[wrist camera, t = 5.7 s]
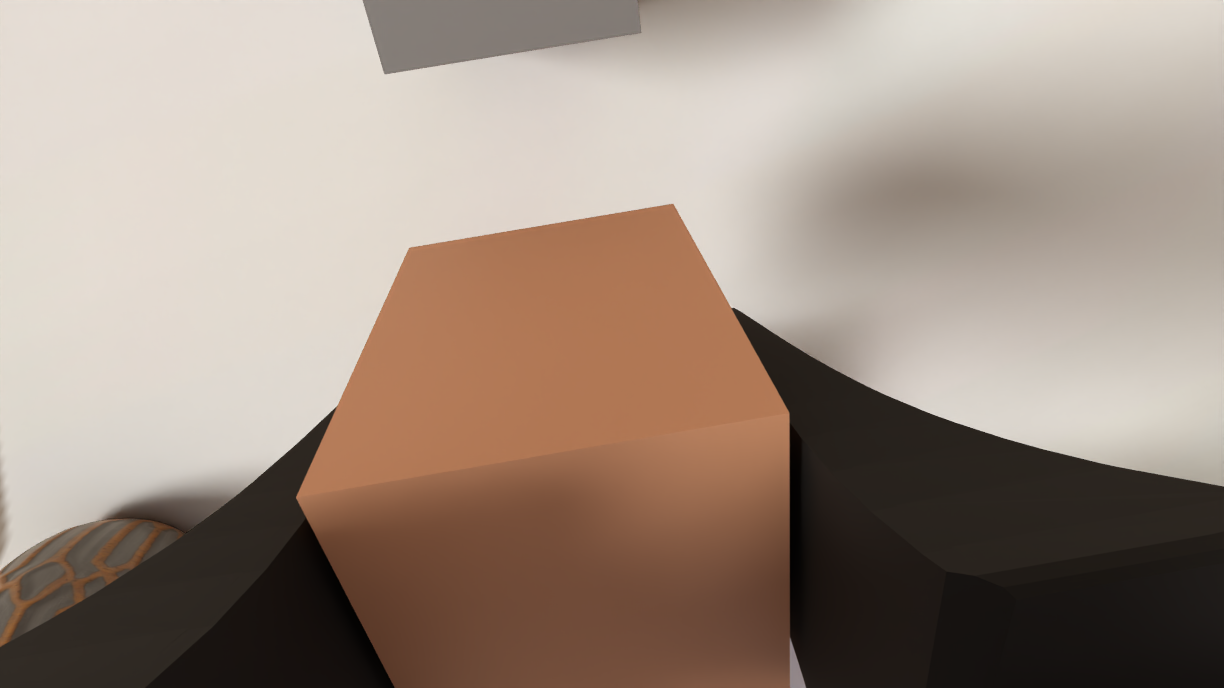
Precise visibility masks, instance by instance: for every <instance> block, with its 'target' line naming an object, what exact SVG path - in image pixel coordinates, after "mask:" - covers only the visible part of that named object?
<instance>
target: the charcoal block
mask: <svg viewBox="0 0 1224 688" xmlns="http://www.w3.org/2000/svg"><path fill="white" fill-rule="evenodd" d="M363 3H364V6H365V10H366V13H367V16H368V20H369V23H370V27H371V30H372V33H373V37H374V40H375V44H376V47H377V50H378V54H379V57H380V61H381V64H382V67H383V71H384V74H390V73H396V72H402V71H408V70H414V69H420V68H427V67H433V66H439V65H445V64H451V63H458V62H464V61H470V60H476V59H482V58H488V57H495V56H501V55H507V54H513V53H519V52H525V51H532V50H538V49H544V48H550V47H556V46H563V45H569V44H575V43H581V42H587V41H593V40H600V39H606V38H612V37H618V36H624V35H631V34H637V33H641V26H640V16H639V6H638V0H363Z"/></svg>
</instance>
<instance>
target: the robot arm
mask: <svg viewBox="0 0 1224 688" xmlns="http://www.w3.org/2000/svg"><path fill="white" fill-rule="evenodd" d="M731 309H732V311H733V312H734V314H735V316H736V318H737V320H738V321H739V323H740V325H741V327H742V329H743V330H744V332H745V334H746V336H747V338H748V339H749V341H750V343H751V345H752V347H753V348H754V350H755V352H756V354H757V356H758V357H759V359H760V361H761V363H762V365H763V366H764V368H765V370H766V372H767V374H768V375H769V377H770V379H771V381H772V383H773V384H774V386H775V388H776V390H777V391H778V393H779V395H780V397H781V399H782V400H783V402H784V404H785V406H786V408H787V409H788V411H789V444H790V688H1224V487H1223V486H1217V485H1212V484H1206V483H1201V482H1196V481H1190V480H1185V479H1179V478H1174V477H1168V476H1163V475H1158V474H1152V473H1147V472H1141V471H1136V470H1130V469H1125V468H1120V467H1115V466H1110V465H1105V464H1101V463H1097V462H1093V461H1088V460H1084V459H1080V458H1076V457H1072V456H1068V455H1064V454H1060V453H1056V452H1051V451H1047V450H1043V449H1040V448H1036V447H1032V446H1029V445H1025V444H1022V443H1018V442H1015V441H1011V440H1007V439H1004V438H1001V437H998V436H995V435H992V434H988V433H985V432H982V431H979V430H976V429H973V428H970V427H967V426H964V425H961V424H958V423H955V422H952V421H949V420H946V419H944V418H941V417H938V416H935V415H933V414H930V413H927V412H925V411H922V410H920V409H918V408H915V407H913V406H910V405H908V404H906V403H903V402H901V401H898V400H896V399H893V398H891V397H889V396H886V395H884V394H882V393H880V392H878V391H875V390H873V389H871V388H869V387H867V386H865V385H863V384H861V383H859V382H857V381H855V380H853V379H851V378H849V377H847V376H846V375H844V374H842V373H840V372H838V371H836V370H834V369H832V368H830V367H829V366H827V365H825V364H823V363H821V362H820V361H818V360H816V359H814V358H813V357H811V356H809V355H808V354H806V353H804V352H803V351H801V350H799V349H798V348H796V347H794V346H793V345H791V344H790V343H788V342H786V341H785V340H783V339H782V338H780V337H779V336H777V335H775V334H774V333H772V332H771V331H769V330H768V329H766V328H765V327H763V326H762V325H760V324H759V323H757V322H756V321H754V320H753V319H751V318H750V317H748V316H746V315H745V314H743V313H742V312H740V311H739V310H737V309H735V308H731ZM336 408H337V407H336ZM336 408H335V409H334V410H333V411H331V412H330V413H329V414H328V415H327V416H326V417H325V418H324V419H323V420H322V421H321V422H320V423H319V424H318V425H317V426H316V427H315V428H313V429H312V430H311V431H310V432H309V433H308V434H307V435H306V436H305V437H304V438H303V439H302V440H301V441H300V442H299V443H297V444H296V445H295V446H294V447H293V448H292V449H291V450H289V451H288V452H287V453H286V454H285V455H284V456H282V457H281V458H280V459H279V460H278V461H277V462H276V463H274V464H273V465H272V466H271V467H270V468H269V469H267V470H266V471H265V472H264V473H263V474H262V475H261V476H259V477H258V478H257V479H256V480H255V481H254V482H253V483H251V484H250V485H249V486H248V487H247V488H245V489H244V490H243V491H242V492H240V493H239V494H238V495H237V496H235V497H234V498H233V499H232V500H230V501H229V502H228V503H226V504H225V505H224V506H223V507H221V508H220V509H219V510H217V511H216V512H215V513H213V514H212V515H211V516H209V517H208V518H206V519H205V520H204V521H202V522H201V523H200V524H198V525H197V526H196V527H194V528H193V529H191V530H190V531H189V532H187V533H186V534H185V535H183V536H182V537H180V538H179V539H177V540H176V541H175V542H173V543H172V544H170V545H169V546H167V547H166V548H164V549H163V550H161V551H160V552H158V553H156V554H155V555H153V556H152V557H150V558H149V559H147V560H146V561H144V562H142V563H141V564H139V565H138V566H136V567H135V568H133V569H132V570H130V571H128V572H127V573H125V574H124V575H122V576H121V577H119V578H118V579H116V580H114V581H113V582H111V583H110V584H108V585H107V586H105V587H104V588H102V589H101V590H99V591H97V592H96V593H94V594H92V595H91V596H89V597H87V598H86V599H84V600H82V601H81V602H79V603H77V604H75V605H74V606H72V607H70V608H69V609H67V610H65V611H63V612H62V613H60V614H58V615H57V616H55V617H53V618H51V619H50V620H48V621H46V622H44V623H43V624H41V625H39V626H37V627H35V628H34V629H32V630H30V631H28V632H26V633H24V634H23V635H21V636H19V637H17V638H15V639H14V640H12V641H10V642H8V643H6V644H4V645H3V646H1V647H0V688H395V687H394V685H393V683H392V682H391V680H390V678H389V676H388V674H387V672H386V670H385V668H384V666H383V664H382V662H381V660H380V658H379V657H378V655H377V653H376V651H375V649H374V647H373V645H372V643H371V641H370V639H369V637H368V635H367V633H366V631H365V630H364V628H363V626H362V624H361V622H360V620H359V618H358V616H357V614H356V612H355V610H354V608H353V606H352V605H351V603H350V601H349V599H348V597H347V595H346V593H345V591H344V589H343V587H342V585H341V583H340V581H339V579H338V578H337V576H336V574H335V572H334V570H333V568H332V566H331V564H330V562H329V560H328V558H327V556H326V554H325V553H324V551H323V549H322V547H321V545H320V543H319V541H318V539H317V537H316V535H315V533H314V531H313V529H312V528H311V526H310V524H309V522H308V520H307V518H306V516H305V514H304V512H303V510H302V508H301V506H300V504H299V502H298V501H297V499H296V496H297V494H298V492H299V490H300V488H301V485H302V483H303V481H304V479H305V477H306V474H307V472H308V470H309V468H310V466H311V463H312V461H313V459H314V457H315V455H316V452H317V450H318V448H319V446H320V443H321V441H322V439H323V437H324V435H325V432H326V430H327V428H328V426H329V424H330V421H331V419H332V417H333V415H334V413H335V410H336Z"/></svg>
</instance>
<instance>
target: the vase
mask: <svg viewBox="0 0 1224 688" xmlns="http://www.w3.org/2000/svg"><path fill="white" fill-rule="evenodd" d="M183 535H185V533H183V532H182V531H180V530H178V529H176V528H174V527H172V526H169V525H166V524H163V523H160V522H156V521H152V520H146V519H112V520H102V521H96V522H91V523H87V524H84V525H80V526H76V527H73V528H70V529H67V530H64V531H62V532H60V533H58V534H56V535H54V536H52V537H50V538H47V539H45V540H44V541H42V542H40V543H38V544H37V545H35V546H33V547H32V548H30V549H29V550H27V551H25V552H24V553H22V554H21V555H20V556H18V557H17V558H16V559H14V560H13V561H12V562H10V563H9V564H8V565H6V566H5V567H4V568H3V569H1V570H0V647H1V646H3V645H4V644H6V643H8V642H10V641H12V640H14V639H15V638H17V637H19V636H21V635H23V634H24V633H26V632H28V631H30V630H32V629H34V628H35V627H37V626H39V625H41V624H43V623H44V622H46V621H48V620H50V619H51V618H53V617H55V616H57V615H58V614H60V613H62V612H63V611H65V610H67V609H69V608H70V607H72V606H74V605H75V604H77V603H79V602H81V601H82V600H84V599H86V598H87V597H89V596H91V595H92V594H94V593H96V592H97V591H99V590H101V589H102V588H104V587H105V586H107V585H108V584H110V583H111V582H113V581H114V580H116V579H118V578H119V577H121V576H122V575H124V574H125V573H127V572H128V571H130V570H132V569H133V568H135V567H136V566H138V565H139V564H141V563H142V562H144V561H146V560H147V559H149V558H150V557H152V556H153V555H155V554H156V553H158V552H160V551H161V550H163V549H164V548H166V547H167V546H169V545H170V544H172V543H173V542H175V541H176V540H177V539H179V538H180V537H182V536H183Z"/></svg>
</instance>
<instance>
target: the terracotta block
mask: <svg viewBox="0 0 1224 688" xmlns="http://www.w3.org/2000/svg"><path fill="white" fill-rule="evenodd" d="M296 499H297V501H298V502H299V504H300V506H301V508H302V510H303V512H304V514H305V516H306V518H307V520H308V522H309V524H310V526H311V528H312V529H313V531H314V533H315V535H316V537H317V539H318V541H319V543H320V545H321V547H322V549H323V551H324V553H325V554H326V556H327V558H328V560H329V562H330V564H331V566H332V568H333V570H334V572H335V574H336V576H337V578H338V579H339V581H340V583H341V585H342V587H343V589H344V591H345V593H346V595H347V597H348V599H349V601H350V603H351V605H352V606H353V608H354V610H355V612H356V614H357V616H358V618H359V620H360V622H361V624H362V626H363V628H364V630H365V631H366V633H367V635H368V637H369V639H370V641H371V643H372V645H373V647H374V649H375V651H376V653H377V655H378V657H379V658H380V660H381V662H382V664H383V666H384V668H385V670H386V672H387V674H388V676H389V678H390V680H391V682H392V683H393V685H394V687H395V688H790V444H789V411H788V409H787V408H786V406H785V404H784V402H783V400H782V399H781V397H780V395H779V393H778V391H777V390H776V388H775V386H774V384H773V383H772V381H771V379H770V377H769V375H768V374H767V372H766V370H765V368H764V366H763V365H762V363H761V361H760V359H759V357H758V356H757V354H756V352H755V350H754V348H753V347H752V345H751V343H750V341H749V339H748V338H747V336H746V334H745V332H744V330H743V329H742V327H741V325H740V323H739V321H738V320H737V318H736V316H735V314H734V312H733V311H732V309H731V307H730V305H729V303H728V302H727V300H726V298H725V296H724V294H723V293H722V291H721V289H720V287H719V285H718V284H717V282H716V280H715V278H714V276H713V275H712V273H711V271H710V269H709V267H708V266H707V264H706V262H705V260H704V258H703V257H702V255H701V253H700V251H699V249H698V248H697V246H696V244H695V242H694V240H693V239H692V237H691V235H690V233H689V231H688V230H687V228H686V226H685V224H684V222H683V221H682V219H681V217H680V215H679V213H678V212H677V210H676V208H675V206H674V204H669V205H663V206H657V207H651V208H645V209H639V210H633V211H627V212H621V213H615V214H609V215H603V216H597V217H591V218H585V219H579V220H573V221H567V222H561V223H555V224H549V225H543V226H537V227H531V228H525V229H519V230H513V231H507V232H501V233H495V234H489V235H484V236H478V237H472V238H466V239H460V240H454V241H448V242H442V243H436V244H430V245H424V246H418V247H412V248H409V250H408V252H407V254H406V256H405V258H404V261H403V263H402V265H401V267H400V269H399V272H398V274H397V276H396V278H395V280H394V283H393V285H392V287H391V289H390V291H389V294H388V296H387V298H386V300H385V302H384V305H383V307H382V309H381V311H380V313H379V316H378V318H377V320H376V322H375V325H374V327H373V329H372V331H371V333H370V336H369V338H368V340H367V342H366V344H365V347H364V349H363V351H362V353H361V355H360V358H359V360H358V362H357V364H356V366H355V369H354V371H353V373H352V375H351V377H350V380H349V382H348V384H347V386H346V388H345V391H344V393H343V395H342V397H341V399H340V402H339V404H338V406H337V408H336V410H335V413H334V415H333V417H332V419H331V421H330V424H329V426H328V428H327V430H326V432H325V435H324V437H323V439H322V441H321V443H320V446H319V448H318V450H317V452H316V455H315V457H314V459H313V461H312V463H311V466H310V468H309V470H308V472H307V474H306V477H305V479H304V481H303V483H302V485H301V488H300V490H299V492H298V494H297V496H296Z"/></svg>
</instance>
